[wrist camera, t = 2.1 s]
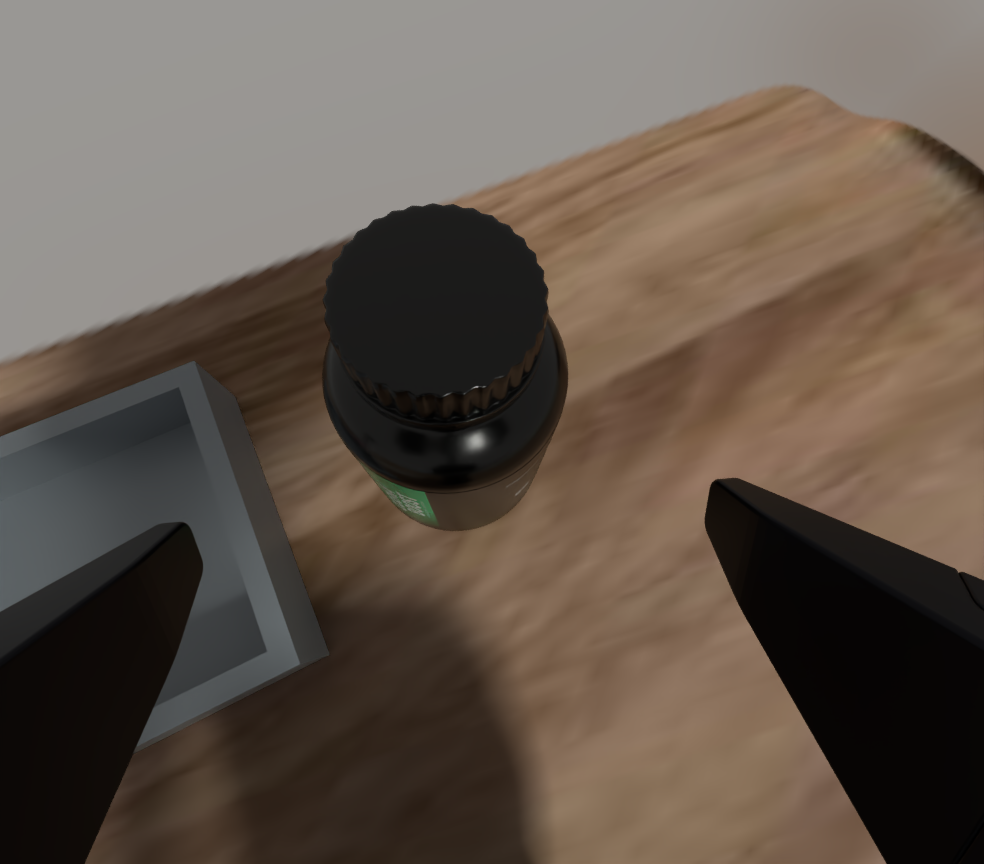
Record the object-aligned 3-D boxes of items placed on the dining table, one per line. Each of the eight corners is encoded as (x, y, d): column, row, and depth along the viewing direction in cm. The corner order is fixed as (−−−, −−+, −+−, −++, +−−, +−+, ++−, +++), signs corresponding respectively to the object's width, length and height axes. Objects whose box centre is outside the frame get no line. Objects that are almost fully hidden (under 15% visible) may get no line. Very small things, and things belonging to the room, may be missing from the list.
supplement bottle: (427, 566, 21) (367, 517, 10) (348, 428, 23) (218, 246, 11) (568, 478, 22) (664, 341, 11) (483, 353, 24) (488, 123, 13)
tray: (329, 654, 20) (300, 663, 16) (6, 818, 18) (-102, 866, 15) (235, 396, 23) (194, 360, 20) (-49, 512, 21) (-147, 494, 18)
